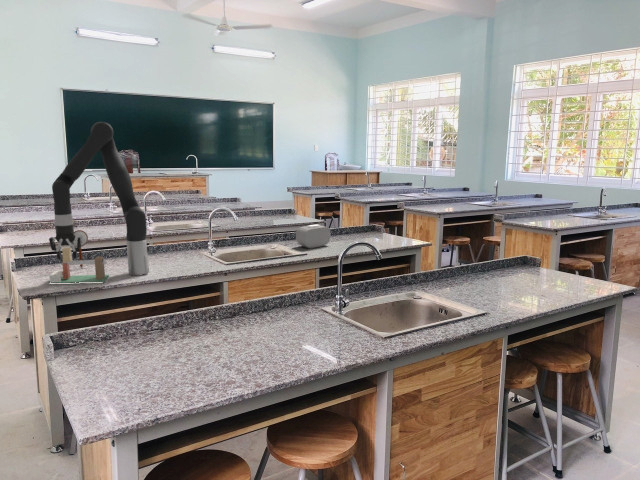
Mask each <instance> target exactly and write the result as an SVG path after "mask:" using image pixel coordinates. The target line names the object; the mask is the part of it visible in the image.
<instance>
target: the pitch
mask: <svg viewBox="0 0 640 480" xmlns="http://www.w3.org/2000/svg"><path fill="white" fill-rule="evenodd" d="M94 260H95V264H94V267H95V274H90V275H89V274H87V275H70V278H69V279H64V278H63V279H61V275H55V274H56V272H58V271H59V270H55V271H53V273H51V274H50V275H49V282H51V283H75V282H76V283H79V282H104V281H105V280H106V279H107V278H109V277H110V274H106V273H105V271H106V269H105V264H102V260H105V258H104V256H100V255H99V256H96V257H95V258H94ZM61 271H62V272H63V270H61ZM106 281H107V280H106ZM106 281H105V282H106ZM105 282H104V283H105Z"/></svg>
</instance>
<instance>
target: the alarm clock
mask: <svg viewBox="0 0 640 480" xmlns="http://www.w3.org/2000/svg"><path fill="white" fill-rule="evenodd" d="M331 234H332V232H331V229H330V228H329V227H327V226H324V225H320V224H310V225H309V224H308V225H306V226H305V225H304V226H301V227H299V228H298V229H297V230H296V233H295V240H296V243H297V244H298V245H300V246H301V247H303V248H307V249H314V248H319V247H324V246H326V245H328V243H330V240H331Z"/></svg>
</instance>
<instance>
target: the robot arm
mask: <svg viewBox="0 0 640 480" xmlns="http://www.w3.org/2000/svg"><path fill="white" fill-rule="evenodd" d="M99 151H100V154H101V156H102V161H103V165H104V168H105V171H106V174H107V178H108V179H109V181H110V182H109V183H110V184H111V187H112V188H113V191H114V193H115V194H116V197H117V198H118V201H119V203H120V206H121V210H122V214H123V218H124V221H125V223H126V224H125V225H126V235H125V236H126V237H125V238H126V252H127V267H128V268H127V269H128V275H129V274H130V276H134V275H137V276H142V275H141V274H145V275H148V274H149V272H150V267H149V266H150V265H149V264H150V263H149V253H148V247H147V234H148V233H147V231H148V230H147V215H146V213H145V211H144V210H142V208H141V207H140V205H139V203H138V201H137V199H136V196H135V193H134V188H133V183H132V179H131V175H130V173H129V170H128V167H127V166H126V164H125V162H124V159H123V158H122V156H121V154H120V153H119V151H118V148H117V147H116V143H115V140H114V128H113V127H112V126H111V124H110V123H108V122H105V121H98V122H95V123H94V124H92V126H91V128H90V135H89V136H88V138H87V140H86V142H85V143H84V144H83V145H82V147H81V148H80V149H79V150H78V152H76V154H74V156H73V157H72V158H71V159H70V161H69V162H68V164H67V165H66V166H65V167H64V169H63V171H62V172H61V173H60V174H59V176H58V177H57V178H56V179H55V180H54V182H53V183H52V184H51V190H52V196H53V197H52V198H53V211H54V226H55V236H54V237H53V236H52V237H49V238H48V241H49V245H50V248H51V251H53V252H56V258H57V259H58V260H63V255H62V247H63V246H68V247H69V248H71V251H72V260H76V259H77V258H78V251H79V249H81V250H82V247H81V243H82V237H75V235H74V232H75V229H74V220H73V219H74V218H73V213H72V204H71V194H70V193H71V188H72V186H73V184H75V182H76V181H77V180H78V179H79V178H80V177H81V176H82V174H83V173H84V171H85V170H86V168H87V167H88V166H89V165H90V163H91V162H92V160H93V158H94V157H95V156H96V154H98V152H99ZM75 239H76V241H77V247H76V246H75V244H74V242H73V241H74V240H75ZM56 241H57V242H58V243H57V246H56ZM147 273H148V274H147Z"/></svg>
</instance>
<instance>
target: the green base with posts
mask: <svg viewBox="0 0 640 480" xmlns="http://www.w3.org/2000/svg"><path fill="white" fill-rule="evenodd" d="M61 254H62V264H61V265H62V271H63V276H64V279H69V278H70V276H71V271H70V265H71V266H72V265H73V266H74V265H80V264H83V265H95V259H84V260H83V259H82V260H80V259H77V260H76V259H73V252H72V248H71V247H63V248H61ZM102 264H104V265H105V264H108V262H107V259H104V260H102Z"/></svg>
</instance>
